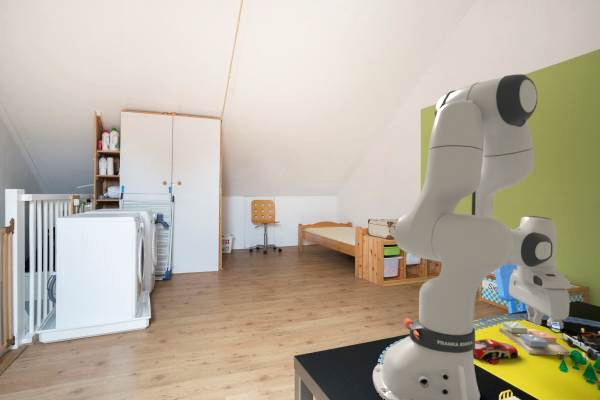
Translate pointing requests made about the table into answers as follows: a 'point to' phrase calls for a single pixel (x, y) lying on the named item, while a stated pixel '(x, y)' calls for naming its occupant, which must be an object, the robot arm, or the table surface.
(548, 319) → the rook chess piece
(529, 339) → the slate tile
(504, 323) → the sage tile
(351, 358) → the table surface
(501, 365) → the table surface
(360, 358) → the table surface
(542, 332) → the terracotta tile
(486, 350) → the race car
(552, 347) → the birch board
